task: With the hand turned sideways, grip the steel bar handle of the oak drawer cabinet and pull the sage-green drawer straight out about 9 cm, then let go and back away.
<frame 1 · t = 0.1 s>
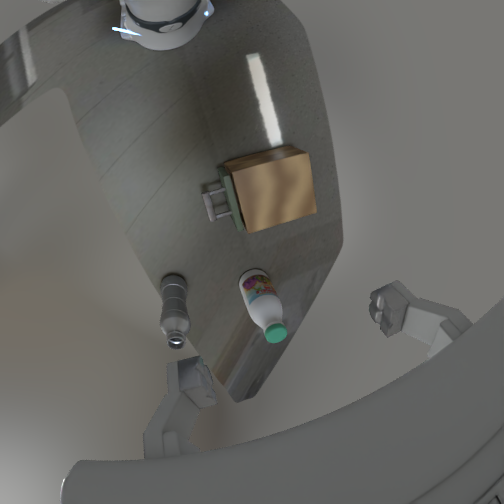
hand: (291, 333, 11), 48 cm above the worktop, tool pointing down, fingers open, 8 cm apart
milk bottle: (253, 280, 70), on the worktop
cabinet: (263, 180, 58), on the worktop
drawer: (249, 192, 53), point 5 cm above the worktop, slide at 0.5 cm
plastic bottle: (173, 282, 65), on the worktop
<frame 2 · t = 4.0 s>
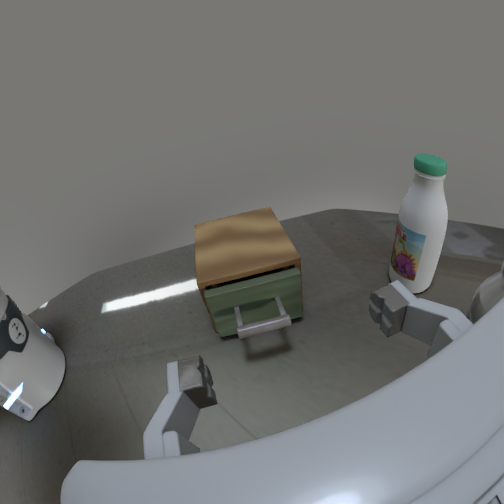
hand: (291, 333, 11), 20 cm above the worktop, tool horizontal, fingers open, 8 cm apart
milk bottle: (409, 279, 39), on the worktop
cabinet: (250, 288, 43), on the worktop
drawer: (251, 284, 37), point 5 cm above the worktop, slide at 0.5 cm
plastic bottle: (441, 391, 23), on the worktop
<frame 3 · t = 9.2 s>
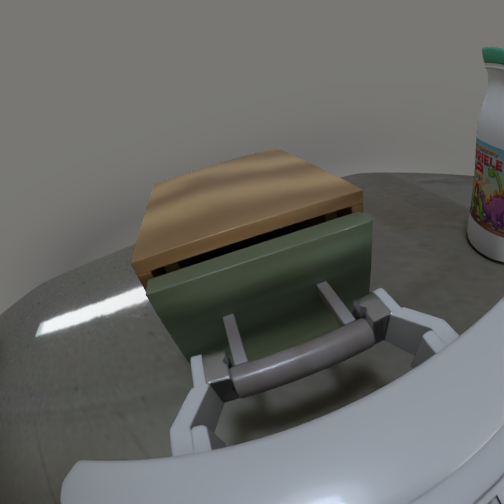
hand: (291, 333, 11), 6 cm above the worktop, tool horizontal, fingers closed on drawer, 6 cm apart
milk bottle: (494, 244, 20), on the worktop
cabinet: (255, 284, 24), on the worktop
drawer: (257, 269, 18), point 5 cm above the worktop, slide at 0.5 cm, touching gripper
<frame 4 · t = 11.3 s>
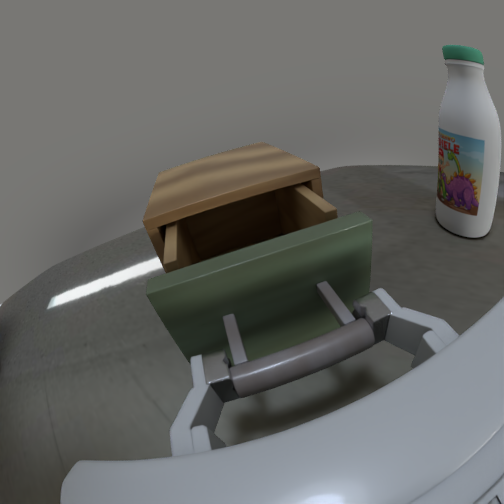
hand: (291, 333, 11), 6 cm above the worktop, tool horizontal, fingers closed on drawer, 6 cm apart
milk bottle: (462, 223, 24), on the worktop
cabinet: (243, 255, 29), on the worktop
drawer: (257, 269, 18), point 5 cm above the worktop, slide at 5.8 cm, touching gripper
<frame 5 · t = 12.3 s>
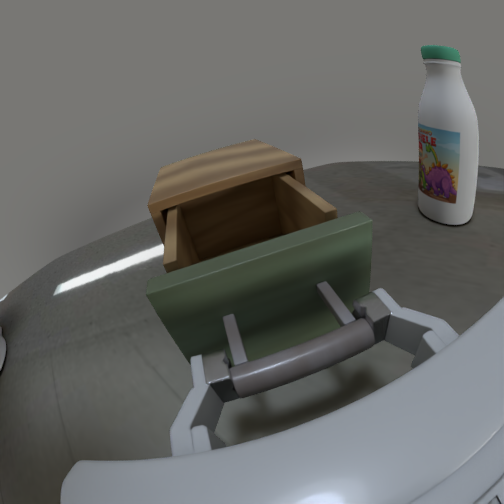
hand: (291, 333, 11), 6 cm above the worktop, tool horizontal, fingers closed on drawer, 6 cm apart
milk bottle: (444, 212, 27), on the worktop
cabinet: (236, 241, 31), on the worktop
drawer: (257, 269, 18), point 5 cm above the worktop, slide at 8.9 cm, touching gripper
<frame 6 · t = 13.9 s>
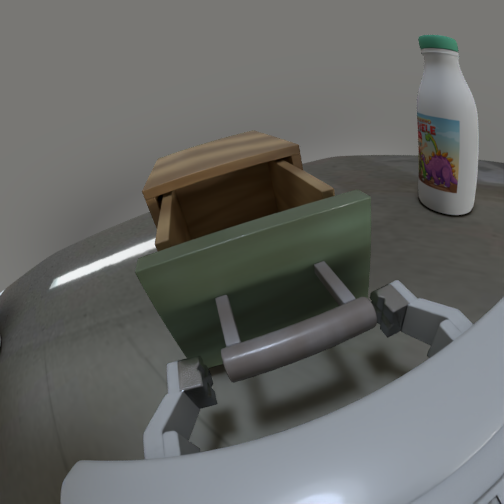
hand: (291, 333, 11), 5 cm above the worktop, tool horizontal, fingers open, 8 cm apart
milk bottle: (445, 203, 26), on the worktop
cabinet: (234, 232, 31), on the worktop
drawer: (253, 253, 17), point 5 cm above the worktop, slide at 8.8 cm
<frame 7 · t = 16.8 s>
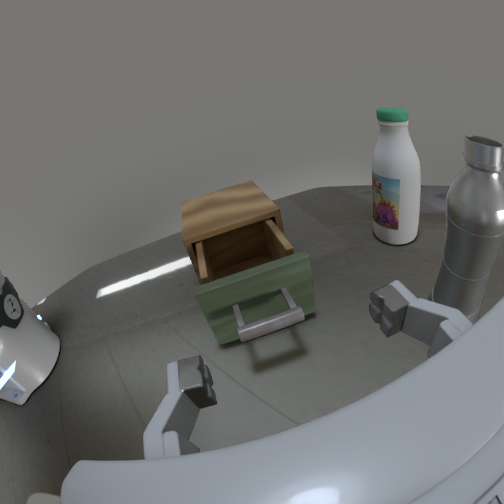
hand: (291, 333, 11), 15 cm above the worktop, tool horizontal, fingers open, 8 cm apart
milk bottle: (395, 234, 40), on the worktop
cabinet: (238, 257, 44), on the worktop
drawer: (250, 279, 31), point 5 cm above the worktop, slide at 8.8 cm
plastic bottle: (445, 327, 23), on the worktop
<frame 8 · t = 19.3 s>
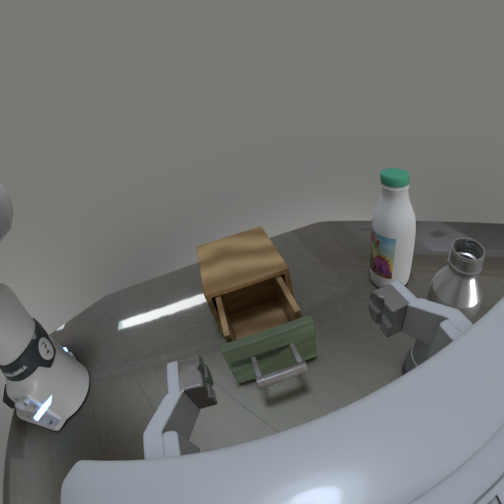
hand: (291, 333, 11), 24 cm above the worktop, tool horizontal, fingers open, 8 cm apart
milk bottle: (389, 278, 45), on the worktop
cabinet: (249, 298, 49), on the worktop
drawer: (263, 331, 36), point 5 cm above the worktop, slide at 8.8 cm
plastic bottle: (422, 371, 29), on the worktop
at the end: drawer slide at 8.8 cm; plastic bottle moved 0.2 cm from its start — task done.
